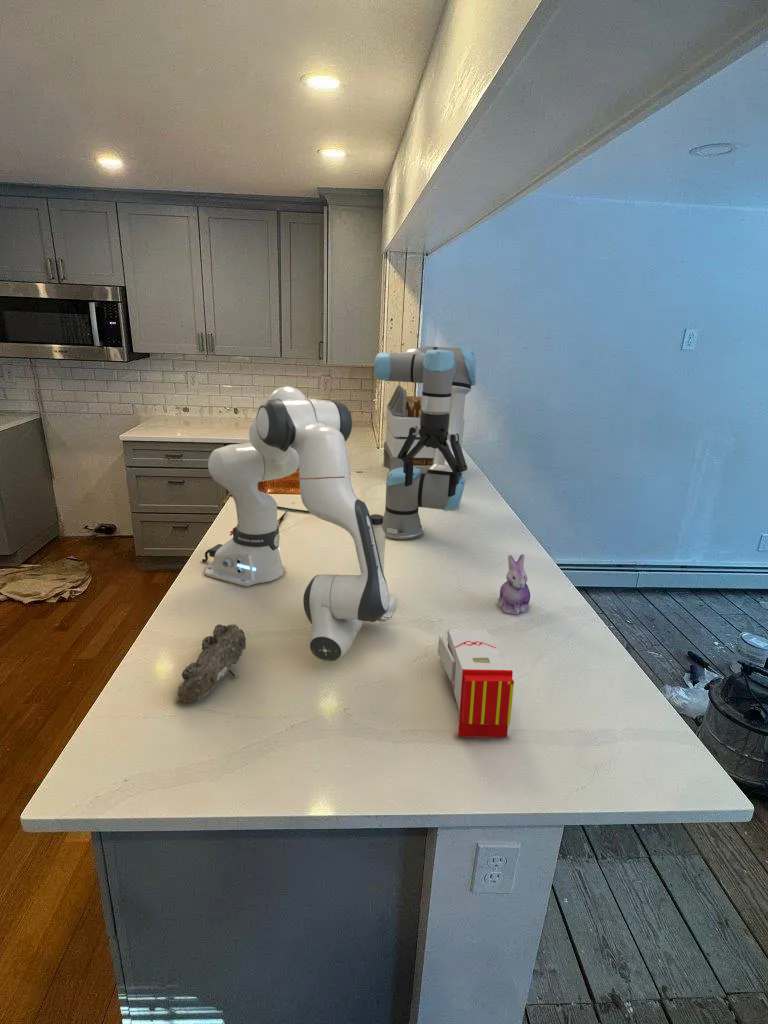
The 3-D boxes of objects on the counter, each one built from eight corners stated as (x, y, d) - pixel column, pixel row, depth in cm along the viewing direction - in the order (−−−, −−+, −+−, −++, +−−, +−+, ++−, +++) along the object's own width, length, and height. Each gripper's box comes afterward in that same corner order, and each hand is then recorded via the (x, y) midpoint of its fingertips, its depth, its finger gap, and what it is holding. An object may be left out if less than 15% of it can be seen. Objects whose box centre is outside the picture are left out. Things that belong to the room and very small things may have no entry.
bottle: (362, 593, 157) (365, 520, 150) (365, 585, 162) (367, 513, 155) (381, 595, 157) (385, 522, 149) (383, 586, 162) (387, 515, 154)
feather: (294, 505, 227) (296, 501, 226) (277, 528, 200) (280, 524, 199) (290, 503, 226) (292, 499, 226) (273, 526, 200) (276, 521, 199)
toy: (488, 613, 130) (523, 677, 101) (484, 667, 133) (517, 744, 104) (435, 612, 130) (455, 676, 101) (432, 666, 133) (451, 743, 103)
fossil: (199, 626, 130) (246, 596, 125) (228, 655, 132) (275, 626, 127) (155, 696, 110) (209, 664, 105) (190, 728, 113) (244, 697, 108)
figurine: (512, 619, 147) (519, 566, 142) (488, 601, 156) (494, 551, 151) (540, 611, 151) (548, 560, 146) (515, 594, 160) (522, 546, 155)
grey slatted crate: (382, 463, 289) (386, 382, 275) (445, 464, 293) (451, 384, 279) (390, 482, 257) (394, 392, 243) (460, 483, 261) (468, 394, 247)
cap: (368, 524, 151) (368, 518, 150) (369, 519, 154) (370, 513, 154) (382, 525, 151) (382, 519, 150) (383, 520, 154) (383, 514, 154)
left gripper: (390, 609, 131) (402, 583, 144) (307, 595, 135) (326, 571, 148) (389, 632, 133) (401, 605, 146) (307, 618, 138) (326, 593, 150)
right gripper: (485, 417, 143) (477, 496, 150) (403, 404, 156) (399, 478, 163) (471, 420, 137) (463, 503, 144) (387, 407, 150) (384, 483, 157)
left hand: (363, 588), depth 147 cm, fingers open, 8 cm apart
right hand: (429, 490), depth 154 cm, fingers open, 13 cm apart
